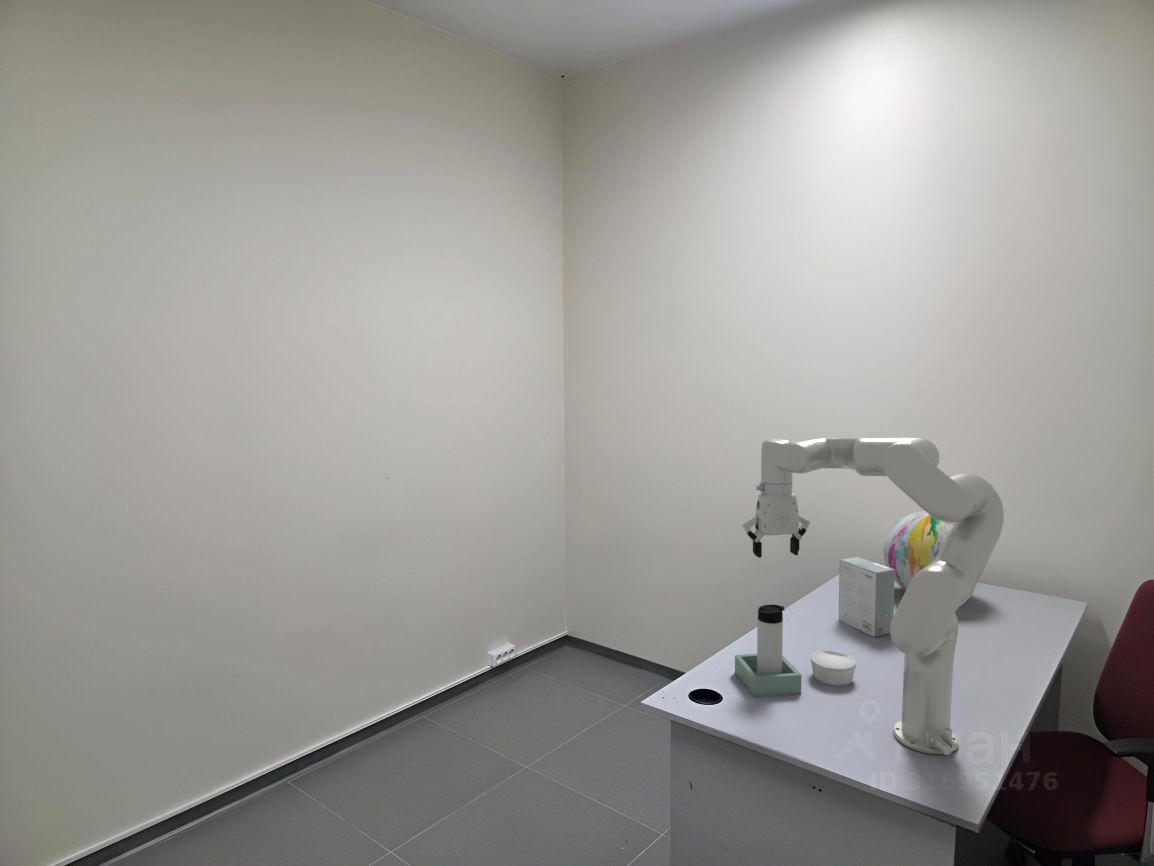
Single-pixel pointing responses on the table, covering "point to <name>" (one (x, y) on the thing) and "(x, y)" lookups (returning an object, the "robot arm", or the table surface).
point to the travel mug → (769, 640)
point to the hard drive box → (866, 595)
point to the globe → (914, 545)
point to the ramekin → (833, 667)
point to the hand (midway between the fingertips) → (776, 555)
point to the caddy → (767, 678)
